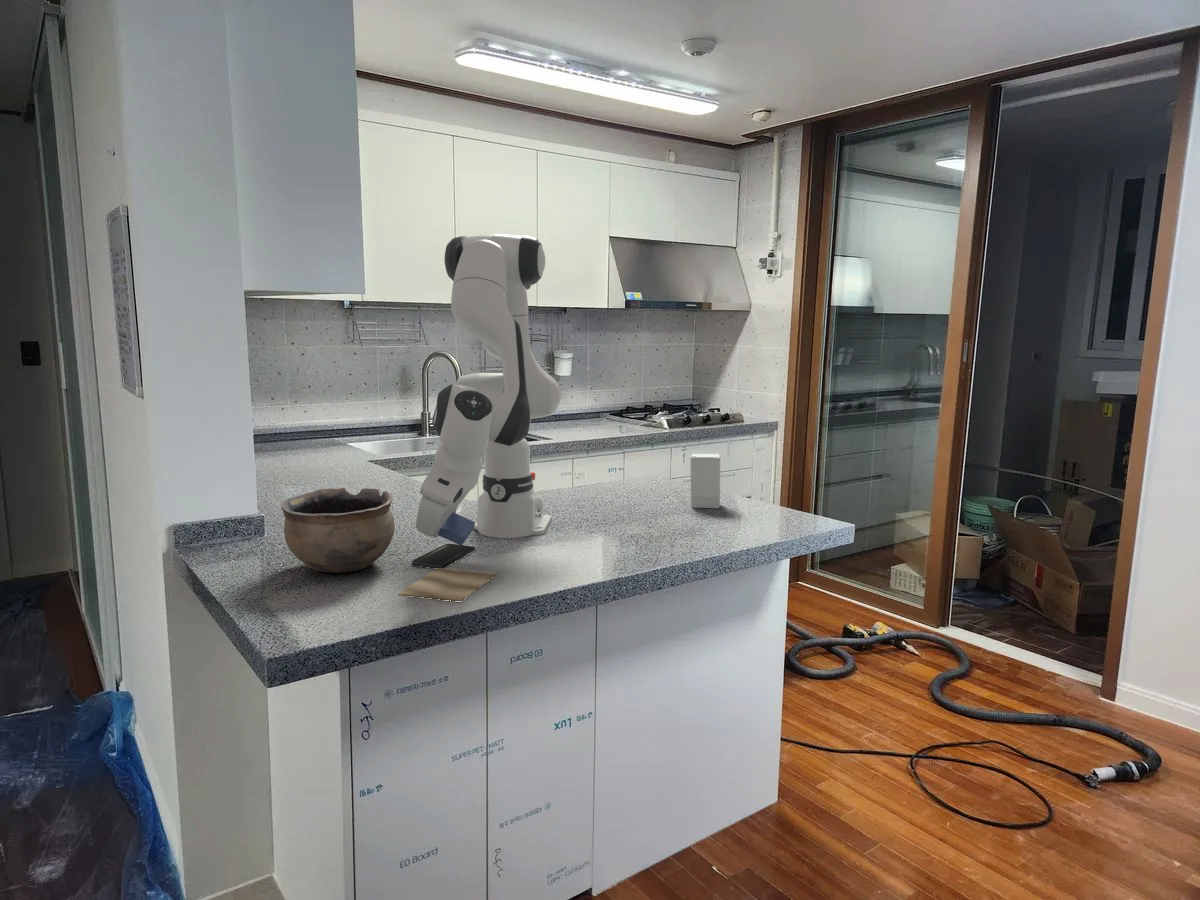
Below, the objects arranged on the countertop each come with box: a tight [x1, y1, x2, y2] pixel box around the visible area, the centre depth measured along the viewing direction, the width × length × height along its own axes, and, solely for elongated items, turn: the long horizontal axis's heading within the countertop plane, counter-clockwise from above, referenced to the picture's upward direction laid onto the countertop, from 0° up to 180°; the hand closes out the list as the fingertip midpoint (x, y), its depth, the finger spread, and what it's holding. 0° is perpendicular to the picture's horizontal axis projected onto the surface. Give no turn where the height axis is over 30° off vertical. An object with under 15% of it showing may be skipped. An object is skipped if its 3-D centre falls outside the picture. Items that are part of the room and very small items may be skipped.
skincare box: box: [690, 453, 721, 509], centre depth 216 cm, size 8×6×15 cm
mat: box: [397, 567, 497, 602], centre depth 150 cm, size 16×13×1 cm
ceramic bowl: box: [280, 487, 396, 573], centre depth 159 cm, size 22×22×15 cm
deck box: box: [437, 513, 476, 546], centre depth 152 cm, size 6×2×10 cm
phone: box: [411, 543, 476, 569], centre depth 168 cm, size 8×1×15 cm
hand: (441, 525), depth 153 cm, fingers closed on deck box, 5 cm apart
